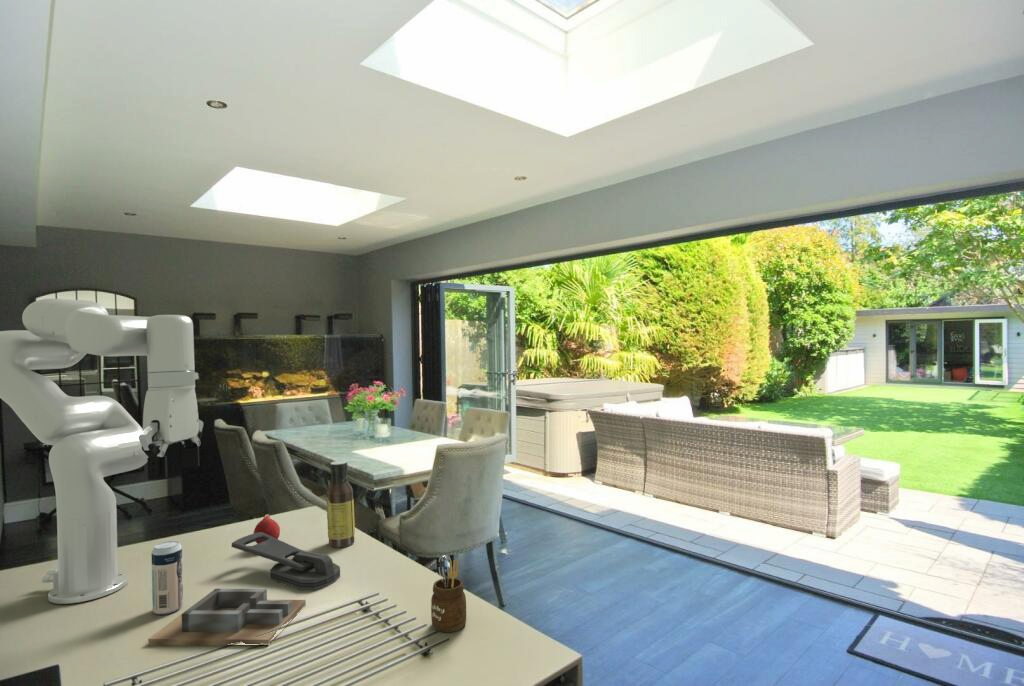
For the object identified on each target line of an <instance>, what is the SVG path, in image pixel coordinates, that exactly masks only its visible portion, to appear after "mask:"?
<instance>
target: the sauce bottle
mask: <svg viewBox="0 0 1024 686" xmlns="http://www.w3.org/2000/svg"><path fill="white" fill-rule="evenodd" d="M329 469H330V484H329V486H328V488H327V490H326V519H327V537H328V545H329V546H331V547H332V548H345V547H349V546H351V545H354V543H355V535H356V530H355V526H356V525H355V506H354V501H355V500H354V489H353V487H352V485H351V483H349V481H348V479H349V478H348V471H347V470H348V461H347V460H336V461H332V462H330V464H329Z"/></svg>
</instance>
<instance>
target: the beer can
mask: <svg viewBox="0 0 1024 686" xmlns="http://www.w3.org/2000/svg"><path fill="white" fill-rule="evenodd" d="M183 582H184V581H183V546H182V545H181V543H180V541H177V540H169V541H164V542H160V543H158V544H155V546H154V547H153V549H152V551H151V585H152V586H151V589H152V590H151V592H152V593H151V595H152V613H154V614H157V615H160V616H161V615H162V616H163V615H169V614H172V613H174V612H177V611H179V609H180V608H182V607H183V606H184V588H183V587H184V584H183Z"/></svg>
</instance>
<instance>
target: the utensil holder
mask: <svg viewBox="0 0 1024 686" xmlns="http://www.w3.org/2000/svg"><path fill="white" fill-rule="evenodd" d="M444 557H445V559H446V560H445V561H446V562H449V566H446V567H447V574H448V577H445V575H441V571H440V568H438V574H439V577H440V579H438V580H436V581H434V583H433V586H432V593H433V594H432V596H431V600H430V607H431V608H430V611H431V613H430V616H431V625H432V627H433V629H435V630H436V631H437V632H439V633H440V632H441V633H453V632H457V631H459V630H462V629H463V628H464V627H465V625H466V624H467V596H466V594H465V592H464V589H465V587H464V582H463V581H462V579H460V578H458V575H459V559H456V560H455V559H453V561H452V560H451V558H450V556H445V555H442V556H441V558H439V560H438V561H440V560H444ZM448 559H449V561H448ZM441 570H442V573H445V572H444V568H442V569H441Z"/></svg>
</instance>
